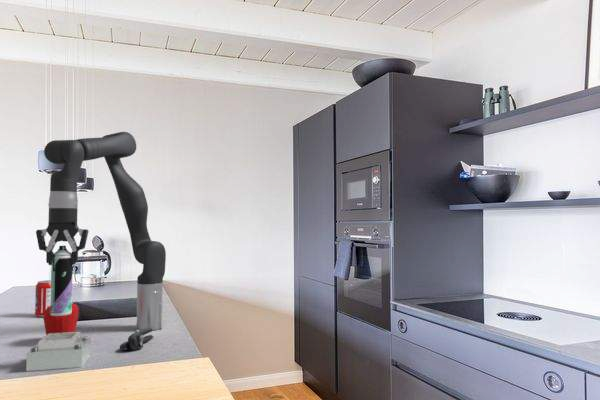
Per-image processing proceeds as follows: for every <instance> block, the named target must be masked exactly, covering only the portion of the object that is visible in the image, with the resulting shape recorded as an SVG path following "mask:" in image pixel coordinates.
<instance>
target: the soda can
mask: <svg viewBox="0 0 600 400" xmlns="http://www.w3.org/2000/svg"><path fill="white" fill-rule="evenodd" d="M34 294H35V299H34V301H35V304H34V305H35V307H34V315H35V316H36V317H38V318H44V312H45V310H46V309H47V308H48V307H49V306H51V279H49V280H39V281H37V284H35V293H34Z"/></svg>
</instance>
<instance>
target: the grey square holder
mask: <svg viewBox="0 0 600 400" xmlns="http://www.w3.org/2000/svg"><path fill="white" fill-rule="evenodd" d="M91 349H92V338H91V337H88V336H86V335H85V336H84V335H83V336H82V331H76V332H67V333H50V334H47V335H46V334H45V336H44V337H42V338H41V339H40V340H38V343H37V344H35V345H34V346H33V347H31V348H30V349H29V350H28V351H27V352H26V365H25V366H26V369H25V371H26V372H34V371H46V370H47V371H48V370H62V369H74V368H82V367H83V366H84V364H86V362H87V360H88V359H89V358H90V356H91V355H92V354H91V353H92V350H91Z"/></svg>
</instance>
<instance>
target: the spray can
mask: <svg viewBox="0 0 600 400" xmlns="http://www.w3.org/2000/svg"><path fill="white" fill-rule="evenodd" d="M58 247H59V248H58V249H57V250H56V251H55V252H54V253H53V254H52V255H53V256H52V265H51V271H50V272H51V273H50V274H51V275H50V278H51V279H50V280H51V312H50V314H51V316H63V315H69V314H71V312H72V303H73V271H74V269H73V268H74V267H73V265H71V252H70V251H69V250H68V249H67V246H66V245H59V246H58Z"/></svg>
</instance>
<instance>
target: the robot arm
mask: <svg viewBox="0 0 600 400" xmlns="http://www.w3.org/2000/svg"><path fill="white" fill-rule="evenodd" d="M136 151H137V142H136V139H135V137H134V136H133V134H131V133H130V132H128V131H120V132H114V133H110V134H107V135H104V136H102V137H88V138H86V137H84V138H77V139H61V140H60V139H58V140H56V139H55V140H51V141H49V142H47V143H46V145H45V147H44V151H43V154H44V157H45V158H46V160H47V161H48V162H49V163H51V164H53V165H63V167H62V168H61V169H60V170H58V171H54V172H53V173H51V175H50V180H49V181H50V185H49V191H50V192H49V196H48V203H47V204H48V222H47V223H48V225H47V227H46V228H44V229H37V230H36V231H35V234H36V239H37V245H38V249H39V250H40V251H43V252H45V253H46V257H45V258H46V264H48V265H49V266H52V256H53V255H52V254H54V253H55V252H54V251H53V250H54V248H55V246H56V245H57V244H58V242H67V243H68V245H69V247H70V249H71V252H70V253H71V265H76V263H78V260H79V252H80V251H81V250H84V249H85V248H86V244H87V241H88V235H89V232H90V231H89V229H88V228H87V229H86V228H85V229H84V228H83V229H82V228H79V226H78V202H79V200H78V177H79V175H80V170H81V167H82V164H83V162H86V161H87V162H88V161H92V160H96V159H100V158H101V159H102V158H104V160H105V162H106V164H107V168H108V170H109V173H110V174H111V177H112V180H113V182H114V186H115V189H116V193H117V196H118V201H119V204H120V207H121V209H122V213H123V215H124V219H125V222H126V226H127V229H128V232H129V233H128V234H129V236H130V237H129V238H130V243H131V247H132V253H133V256H134V258H135V260H136V262H137V263H139V264H141V265H142V266H143V267H142V272H141V273H140V274H139V275H138V276H137V280H136V283H137V285H136V286H137V287H136V330H142V329H147V328H151V329H153V330H152V331H157V330H162V329H163V313H164V312H163V309H164V305H163V302H164V301H163V287H164V285H163V284H164V283H163V281H164V280H163V279H164V277H165V272H166V263H167V261H166V260H167V259H166V256H167V255H166V248H165V246H164V244H163V243H162V242H160V241H156V240H155V241H154V240H152V239H151V237H150V233H149V229H148V225H147V223H148V213H149V205H148V202H147V197H146V194H145V191H144V189H143V187H142V186H141V184H139V182H137V181H136V180H135V179H134V178H133V177H132V176H131V175H130V174H129V173H128V172H127V171H126V169H125V166H123V163H122V160H121V159H124V158H128V157H131V156H132V155H134V154H135V153H136ZM47 233H48V235H49V237H50V240H49V241H48V244H46V239H45V237H46V236H47ZM78 233H79V236H80V241H79V245H77V241H76V238H75V236H76V235H77V234H78Z"/></svg>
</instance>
